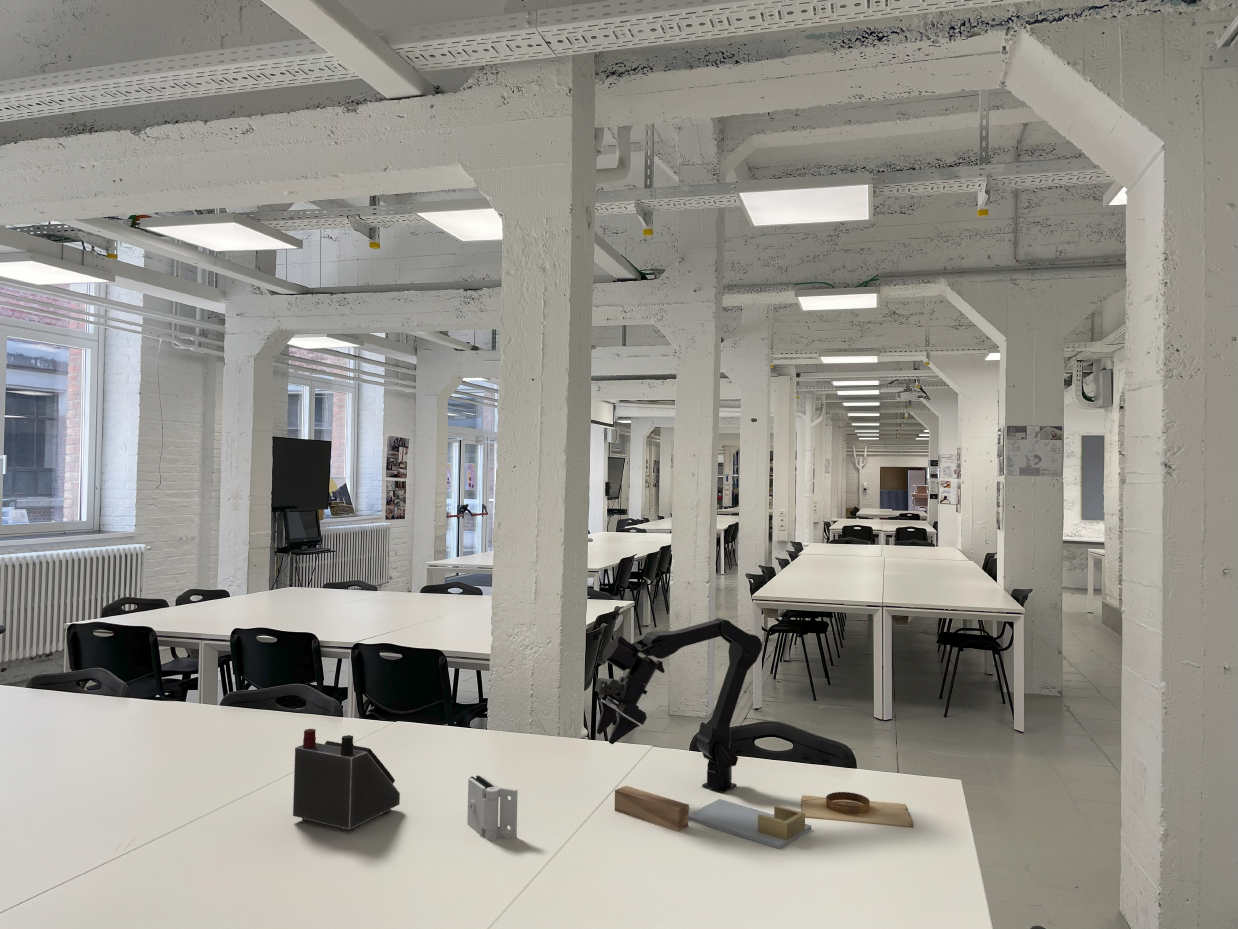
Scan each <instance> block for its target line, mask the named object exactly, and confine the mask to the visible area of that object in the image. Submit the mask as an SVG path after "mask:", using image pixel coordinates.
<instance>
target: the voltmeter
mask: <svg viewBox="0 0 1238 929" xmlns="http://www.w3.org/2000/svg"><path fill="white" fill-rule="evenodd" d="M316 738H317V736H316V729H315V728H307V729H304V730H303V739H302V742H303V743H302V744H301V745H298V746H295V747H294V769H293V771H294V772H293V773H294V774H293V798H292V799H293V801H292V802H293V803H292V806H293V807H292V817H295V818H301V820H302V823H307V824H308V823H311V822H317V823H321V824H325V825H329V826H335V827H337V828H342V831H343V832H344V833H351V832H353V831H354V828H355V827H357V826H359V825H361V824H363V823H365V822H367V821H369V820H371V819H373V818H375V817H377V816H379V815H382V814H384V815H386V814H390V813H391V810H392V809H394V808H395V807H397V806H399V805H400V804H401V798H400V797H401V793H400V791H399V790H398V788H396V786H395V785H394V783H395V781H396V779H395V778H394V776H393V775H392V774H391V772H390V771H389V770H388V768H387V767H386V766H385V765H384V764H383V762H382V761H381V760H380V759H379V758H378V756H377V755H376V754H375V753H374V751H372V749H371V748H369V747H364V746H357V745H354V735H350V734H349V735H343V736H342V737H341V742H336V741H330V740H326V741H325V743H319V742H317V740H316Z"/></svg>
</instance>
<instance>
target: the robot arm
mask: <svg viewBox="0 0 1238 929" xmlns="http://www.w3.org/2000/svg"><path fill="white" fill-rule="evenodd" d="M720 637H721V639H723V640H724V641H725V642H726V643H728V644H729V647H728V660H729V665H728V667H727V671H726V673H725V676H724V680H723V683H722V686H721V688H720V692H719V694H718V697H717V701H716V704H715V706H714V710H713V713H712V715H711V717H710V719H708V721H707V722H706V723H705V722H704V721H702V722H701V723H700V724H699V730H698V732H697V734H696V735H695V737H696V738H697V739H696V746H697V748H698V750H699V751H700V752H701V753H702V756H703V758H704V759H706V760H708V762H707V767H706V768H707V770H706V782H704V783H703V784H701V787H703V788H706V789H709V790H713V791H715V792H716V791H717V792H720V793H725V792H728V791H730V790H732V789H734V788H736V787H737V783H735V782H733V781H732V780H733V776H732V774H733V772H732V769H733V767H736V766H737V764H738V760H739V757H738V755H736V754H735V752H734V751H732V750H731V748H730V747H731V746H730V745H731V740H732V735H731V722H732V719H733V717H734V713H735V711H736V707H737V704H738V700H739V698H740V694H741V692H742V689H743V686H744V683H745V680H746V676H747V674H748V671H749V670H750V669H751V667H752V666H753V665H755V663H756V662H757V660H758V659H759V656H760V655H761V652H762V650H763V643H762V640H761V639H760V637H759V636H758V635H756V634H752V633H750V632H746V631H745V630H743V629H741V628H740V627H738V626H736V625H735V624H733V623H732V622H731V621H730V620H728V619H725V618H721V617H717V618H714V619H713V620H710V621H705V622H702V623H699V624H698V623H697V624H695V625H691V626H687V627H684V628H680V629H676V630H651V631H649V632H647V633H645V634H644V636H643V637H642V638H641V639H639V640H637V641H636V640H635V641H634V642H632V643H631V642H629V641H628V640H626V638H625V637H623V636H621V635H619V634H617V635H616V636H615V638H614V639H612V640H611V641H610V642H609V643H608V644H607V645H606V646H605V648H604V650H603V653H602V658H603V660H604V661H605V662H607V663H609V664H611V665H612V666H614V667H615V668H617V669H619V670H620V671H621V672H625V671H626V670H628V671H627V673H626V674H625V676H620V677H619V679H616V678H615V679H613V678H611V677H610V678H609V679H608V678H603V677H596V678H597V679H596V682H595V688H594V691H595V692H597V693H598V694H599V695H598V697H597V698H599V699H598V702H599V704H600V708H601V712H600V717H599V721H598V724H597V728H596V731H595V732H596V733H597V734H598V735H601V734H603V733H604V732H605V731H606V730H607V729H608V728H609V727H610V726H611V725H612V724H613V723H614V722H615V724H614V727H613V729H612V732H611V734H610V737H609V739H608V744H610V745H614V744H615V743H617V742H618V741H619V740H621V739H622V738H623V737H625V736H626V735H627V734H629V733H630V732H632V731H633V730H635V729H636V728H640V726H644V724H645V722H646V720H647V719H648V717H647V713H646V712H645V711H643V710H642V709H641V708H640V706H639V705H638V703H639V701H640V699H642V696H643V695H645V696H646V695H647V693H648V690H646V689H647V688H648V685H649V684H650V681H651V680H652V678H653V676H654V675H655V672H660V673H661V674H665V669H664V668H665V667H664V664H663V661H662V660H659V659H663V660H664V659H665V658H667V657H669V656H672V655H674V654H675V653H677V652H678V651H680V649H681V648H684V647H688V646H691V645H695V644H698V643H701V642H704V641H705V642H706V641H709V640H712V639H717V638H720ZM639 654H641V655H644V656H643V657H642V656H640V655H639ZM652 657H654V658H655V659H657V660H654V659H653V658H652Z"/></svg>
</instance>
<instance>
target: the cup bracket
mask: <svg viewBox="0 0 1238 929" xmlns="http://www.w3.org/2000/svg"><path fill="white" fill-rule="evenodd" d="M773 811H774V812H773V815H774V818H773V817H769V816H766V815H762V814H759V815H758V832H760V833H764V834H767V835H770V836H773V837H777V838H780V839H783V840H786V841H787V840H789V839H790V838H792V837H794V836H795V835H797V834H799V833H800V832H802V831H803V830H805V824H806V818H805V813H803V812H801V811H799V810H795V809H793V808H789V807H784V806H781V805H774V807H773Z"/></svg>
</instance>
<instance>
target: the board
mask: <svg viewBox="0 0 1238 929" xmlns="http://www.w3.org/2000/svg"><path fill="white" fill-rule="evenodd" d="M800 810H801V811H800V812H803V813H805V819H814V820H826V821H835V822H836V821H837V822H846V823H847V822H848V823H856V824H857V823H858V824H868V825H878V826H887V827H897V828H898V827H900V828H911V829H912V828H914V822H913V819H912V817H911V814H910V813H909V812H910V811H908V807H907V805H906V804H905V803H898V802H886V801H872V800H870V799H869V798H868V797H866V796H865V795H862V794H859V793H856V792H850V791H836V792H831V793H828V794H827V795H825V797H824V796H816V795H815V796H814V795H801V800H800Z"/></svg>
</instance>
